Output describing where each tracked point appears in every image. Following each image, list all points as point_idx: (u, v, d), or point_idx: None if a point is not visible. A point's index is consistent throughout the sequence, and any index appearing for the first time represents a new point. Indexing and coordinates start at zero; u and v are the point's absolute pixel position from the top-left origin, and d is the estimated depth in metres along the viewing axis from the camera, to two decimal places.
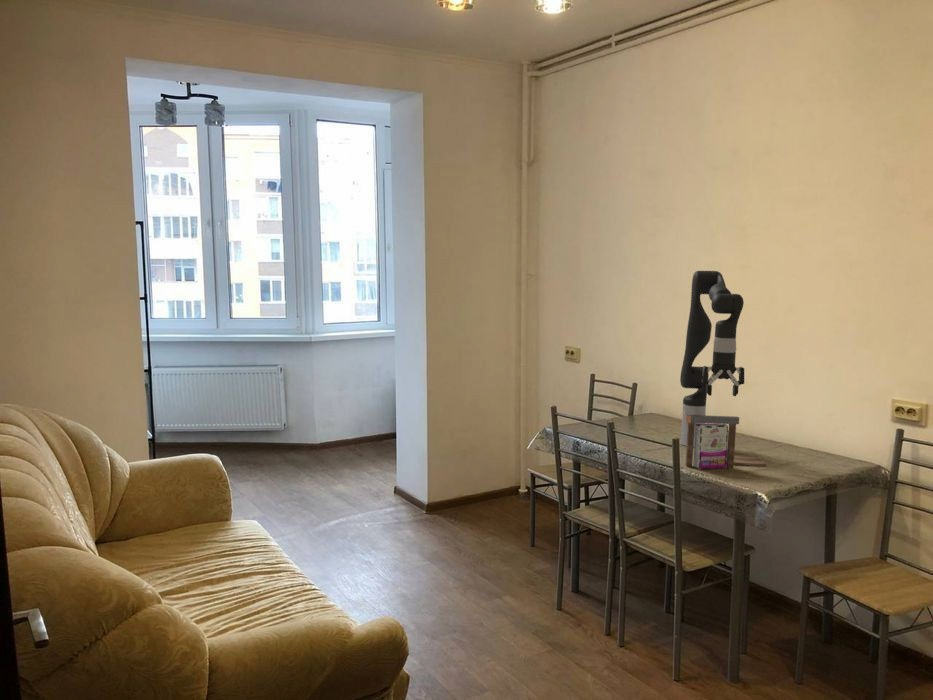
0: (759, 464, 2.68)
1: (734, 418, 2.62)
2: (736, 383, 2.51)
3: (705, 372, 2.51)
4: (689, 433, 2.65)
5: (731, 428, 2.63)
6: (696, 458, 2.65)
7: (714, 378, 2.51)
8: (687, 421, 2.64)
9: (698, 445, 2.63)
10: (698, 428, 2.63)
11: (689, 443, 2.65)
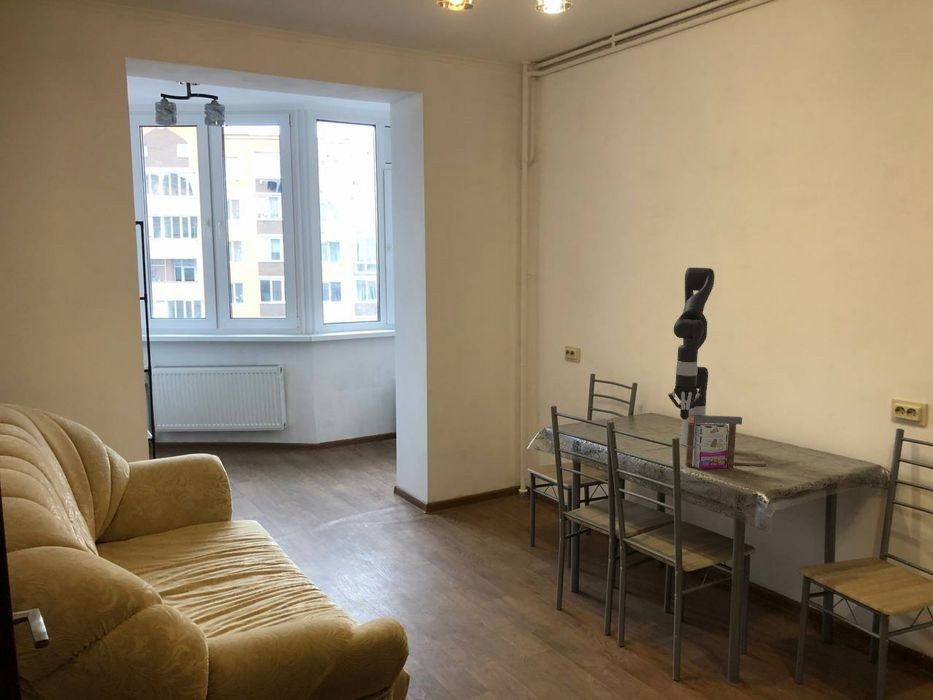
0: (759, 464, 2.68)
1: (737, 418, 2.62)
2: (687, 407, 2.63)
3: (672, 399, 2.64)
4: (689, 433, 2.65)
5: (731, 428, 2.63)
6: (696, 458, 2.65)
7: (682, 402, 2.63)
8: (690, 421, 2.64)
9: (698, 445, 2.63)
10: (698, 428, 2.63)
11: (689, 443, 2.65)
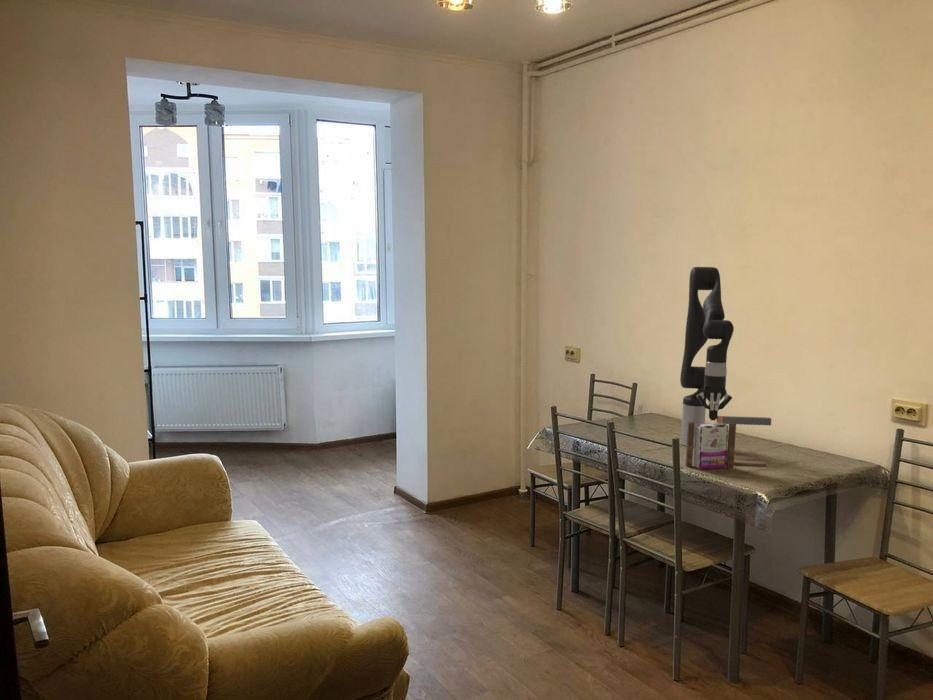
0: (759, 464, 2.68)
1: (766, 419, 2.61)
2: (716, 408, 2.62)
3: (701, 400, 2.63)
4: (689, 433, 2.65)
5: (731, 428, 2.63)
6: (696, 458, 2.65)
7: (711, 402, 2.62)
8: (719, 422, 2.63)
9: (698, 445, 2.63)
10: (698, 428, 2.63)
11: (689, 443, 2.65)
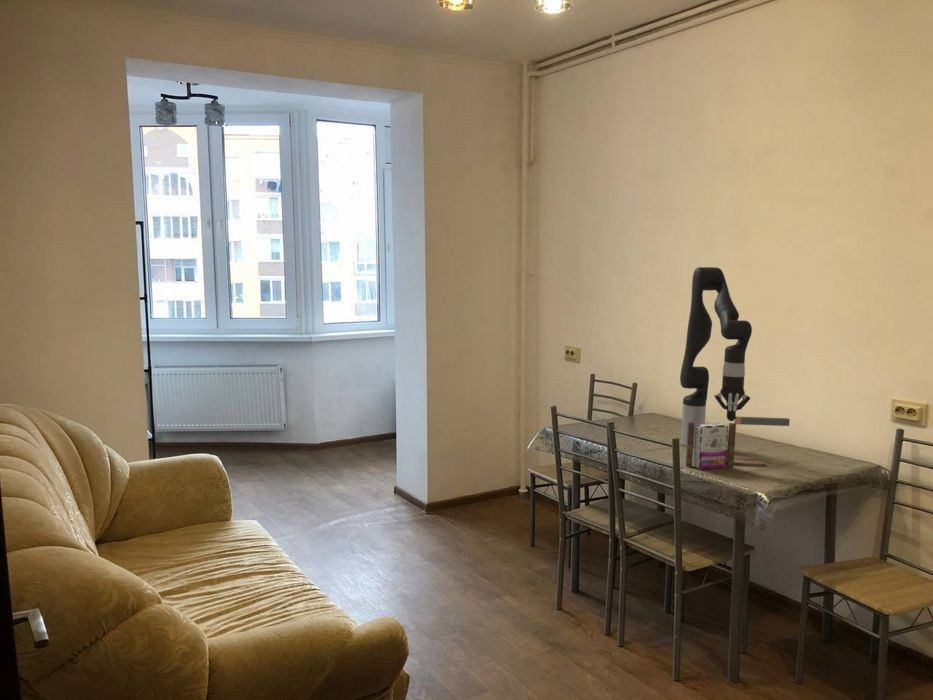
0: (759, 464, 2.68)
1: (784, 420, 2.61)
2: (734, 408, 2.62)
3: (719, 400, 2.62)
4: (689, 433, 2.65)
5: (731, 428, 2.63)
6: (696, 458, 2.65)
7: (730, 403, 2.61)
8: (737, 423, 2.62)
9: (698, 445, 2.63)
10: (698, 428, 2.63)
11: (689, 443, 2.65)
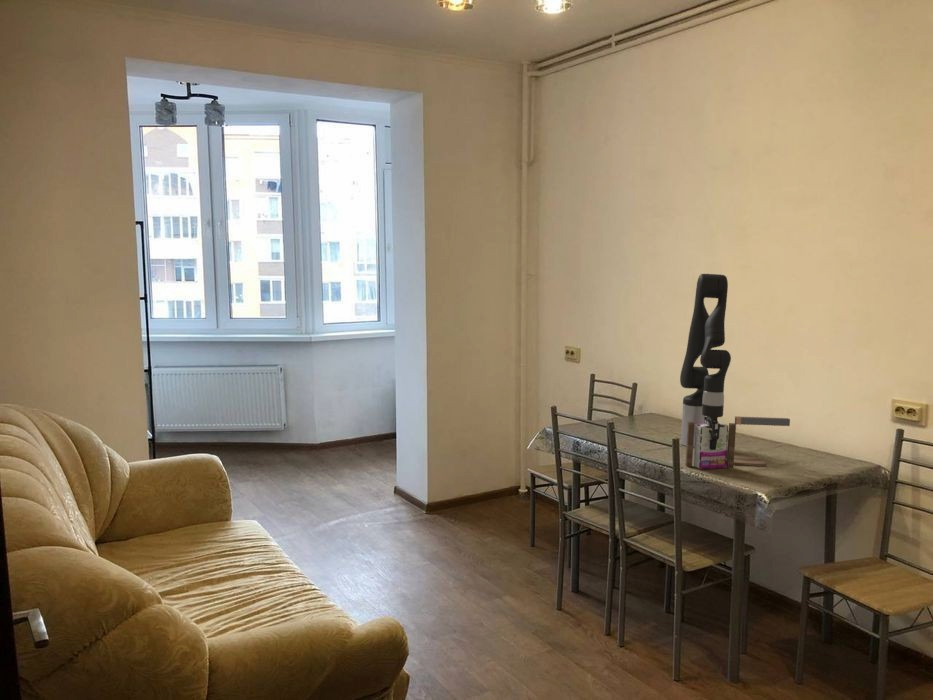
0: (759, 464, 2.68)
1: (784, 420, 2.61)
2: (710, 437, 2.62)
3: (704, 422, 2.71)
4: (689, 433, 2.65)
5: (731, 428, 2.63)
6: (696, 458, 2.65)
7: None
8: (737, 423, 2.62)
9: (698, 445, 2.63)
10: (698, 428, 2.63)
11: (689, 443, 2.65)
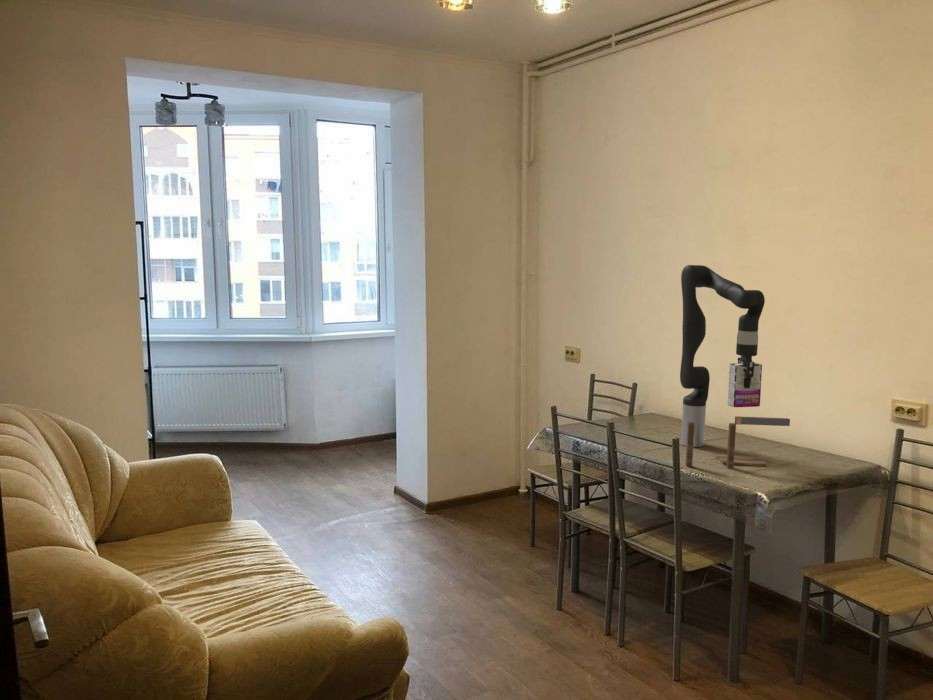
0: (759, 464, 2.68)
1: (784, 420, 2.61)
2: (744, 375, 2.68)
3: (738, 362, 2.77)
4: (689, 433, 2.65)
5: (731, 428, 2.63)
6: (731, 396, 2.71)
7: None
8: (737, 423, 2.62)
9: (732, 384, 2.69)
10: (732, 367, 2.69)
11: (689, 443, 2.65)
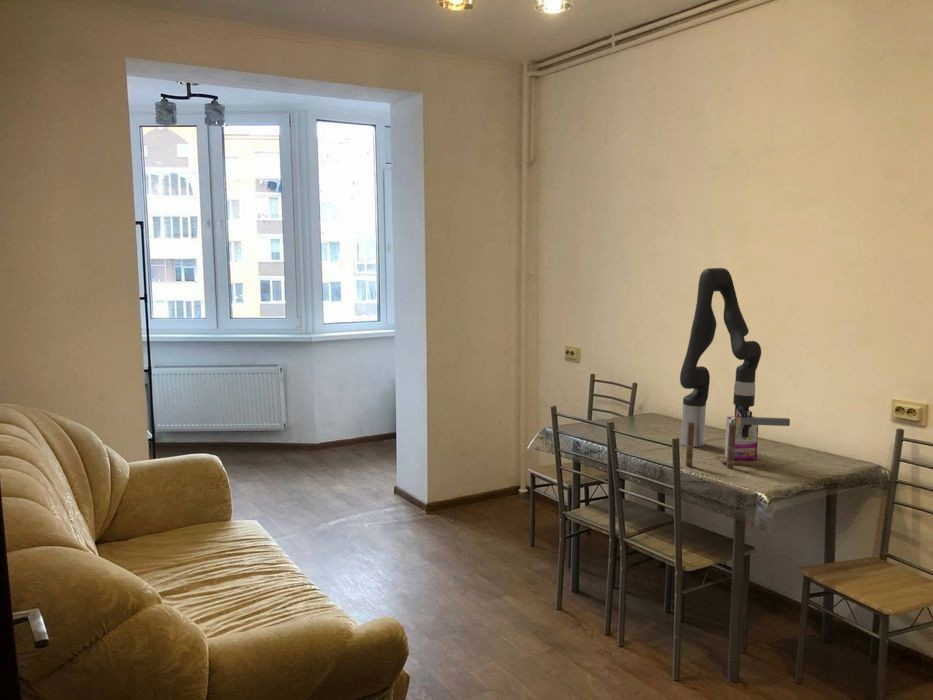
0: (759, 464, 2.68)
1: (784, 420, 2.61)
2: (742, 425, 2.69)
3: (735, 409, 2.79)
4: (689, 433, 2.65)
5: (731, 428, 2.63)
6: None
7: None
8: (737, 423, 2.62)
9: None
10: (729, 420, 2.72)
11: (689, 443, 2.65)
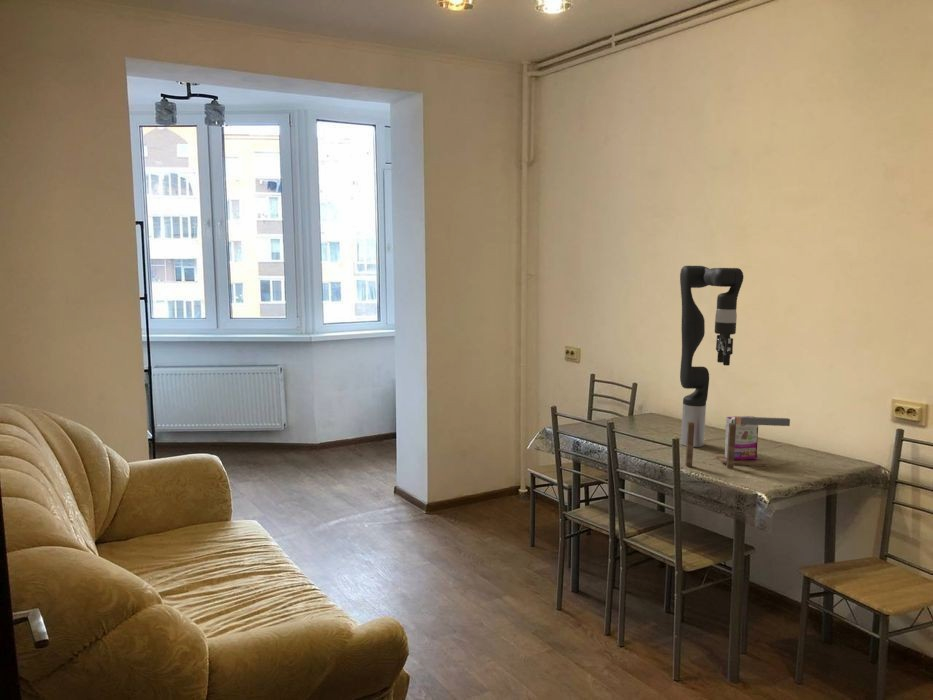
0: (759, 464, 2.68)
1: (784, 420, 2.61)
2: (723, 352, 2.64)
3: None
4: (689, 433, 2.65)
5: (731, 428, 2.63)
6: None
7: (717, 346, 2.72)
8: (737, 423, 2.62)
9: None
10: (729, 420, 2.72)
11: (689, 443, 2.65)
